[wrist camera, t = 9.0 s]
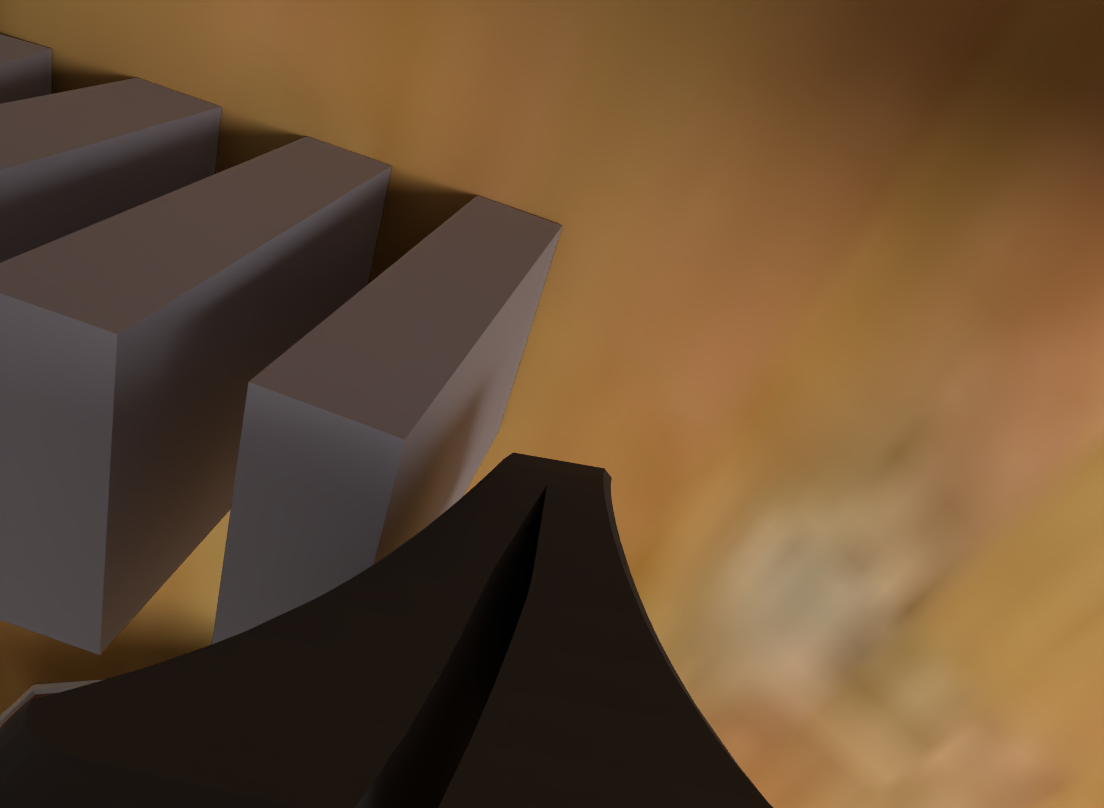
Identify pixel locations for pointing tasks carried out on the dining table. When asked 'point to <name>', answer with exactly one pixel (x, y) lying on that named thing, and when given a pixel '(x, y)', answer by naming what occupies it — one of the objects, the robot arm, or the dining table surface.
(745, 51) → the dining table surface
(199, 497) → the domino
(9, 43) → the domino
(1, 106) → the domino
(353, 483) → the domino
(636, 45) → the dining table surface
